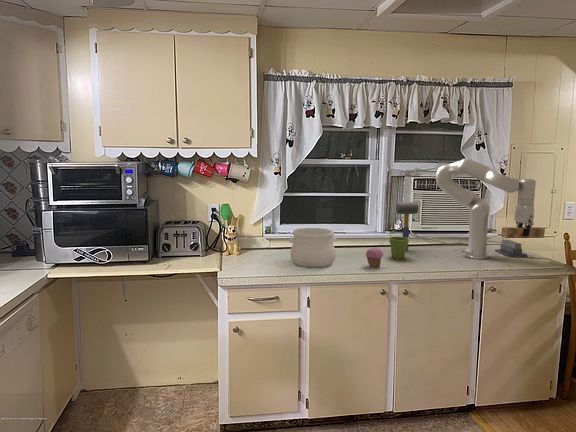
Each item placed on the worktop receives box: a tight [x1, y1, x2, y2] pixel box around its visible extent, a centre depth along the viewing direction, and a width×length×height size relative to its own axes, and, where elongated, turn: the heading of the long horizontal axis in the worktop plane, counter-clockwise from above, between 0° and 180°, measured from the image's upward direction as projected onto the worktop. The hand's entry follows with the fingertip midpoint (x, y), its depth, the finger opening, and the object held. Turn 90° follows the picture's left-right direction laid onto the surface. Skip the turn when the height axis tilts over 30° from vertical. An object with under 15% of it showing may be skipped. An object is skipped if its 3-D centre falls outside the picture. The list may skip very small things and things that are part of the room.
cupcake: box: [365, 247, 384, 268], centre depth 222 cm, size 9×9×10 cm
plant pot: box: [388, 236, 411, 260], centre depth 241 cm, size 12×12×11 cm
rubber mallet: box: [395, 201, 419, 251], centre depth 258 cm, size 12×8×30 cm, turn 94°
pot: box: [289, 227, 337, 268], centre depth 228 cm, size 26×24×18 cm
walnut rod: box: [500, 226, 546, 239], centre depth 231 cm, size 22×4×5 cm, turn 96°
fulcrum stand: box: [494, 239, 528, 258], centre depth 251 cm, size 11×14×8 cm
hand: (522, 234), depth 231 cm, fingers closed on walnut rod, 4 cm apart
